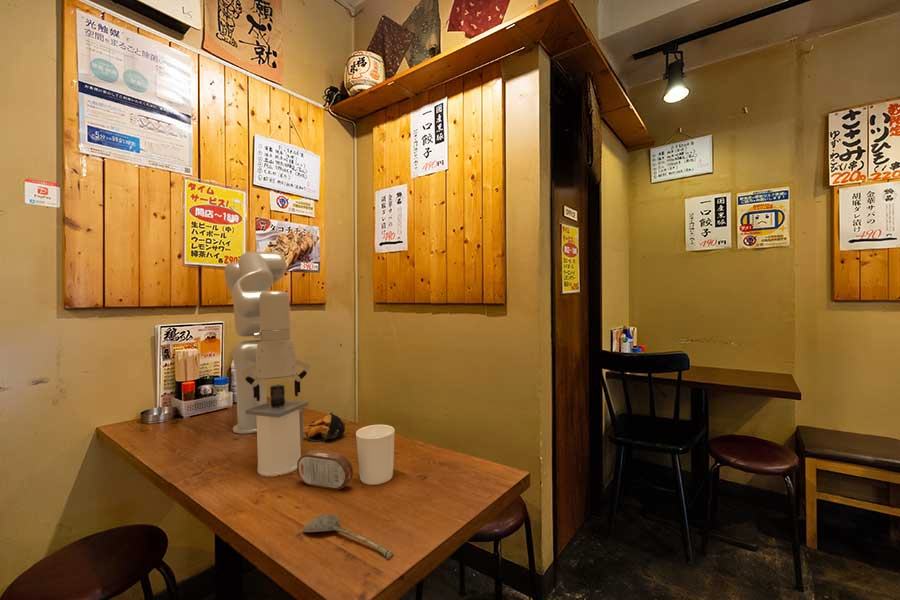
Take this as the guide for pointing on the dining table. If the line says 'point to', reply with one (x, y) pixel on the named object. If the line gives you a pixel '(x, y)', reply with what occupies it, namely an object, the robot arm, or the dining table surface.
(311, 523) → the soupspoon
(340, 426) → the fried shrimp in bowl
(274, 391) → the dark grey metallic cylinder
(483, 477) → the dining table surface
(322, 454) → the tin
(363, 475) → the white tapered cylinder
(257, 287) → the robot arm
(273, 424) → the white grey-topped cylinder
